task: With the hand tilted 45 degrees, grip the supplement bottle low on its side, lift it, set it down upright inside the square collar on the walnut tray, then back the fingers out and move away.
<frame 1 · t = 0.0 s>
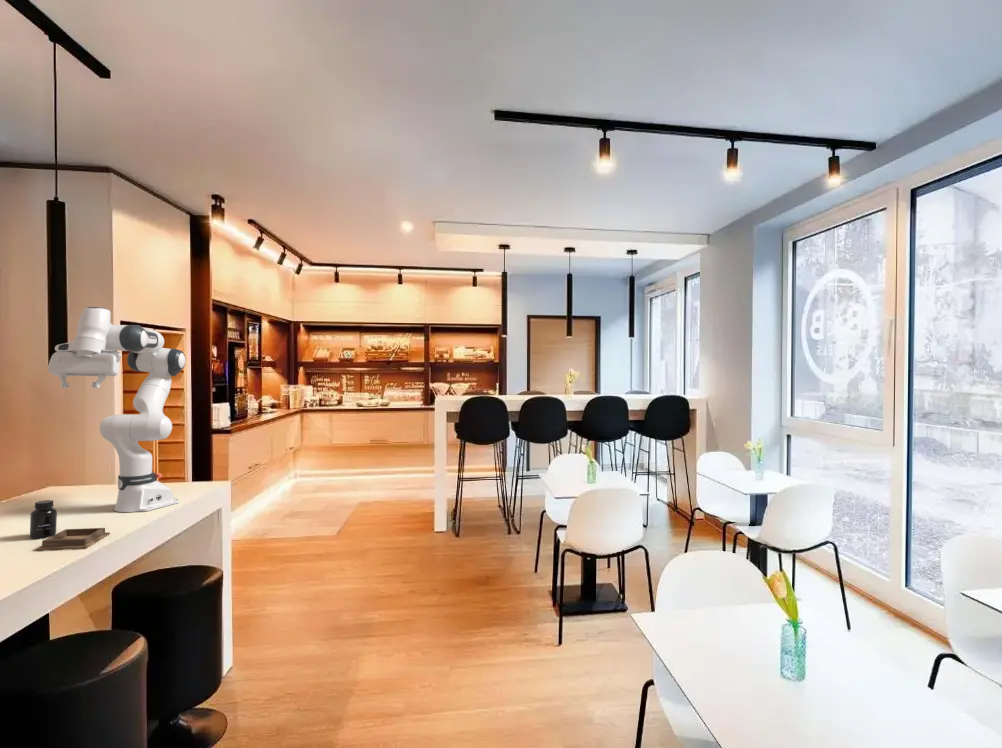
hand: (80, 387, 174), 52 cm above the counter, tool tilted 20°, fingers open, 8 cm apart
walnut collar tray: (74, 542, 171), on the counter
supplement bottle: (43, 536, 176), on the counter
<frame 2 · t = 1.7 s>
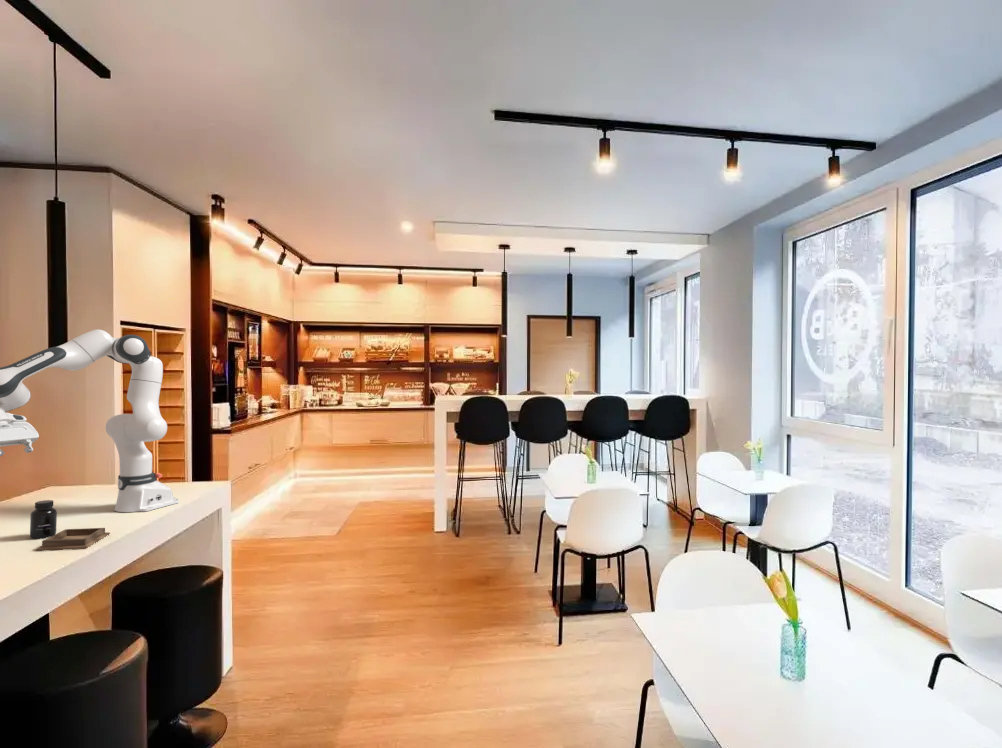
hand: (15, 453, 177), 28 cm above the counter, tool tilted 45°, fingers open, 8 cm apart
nothing on the counter moved.
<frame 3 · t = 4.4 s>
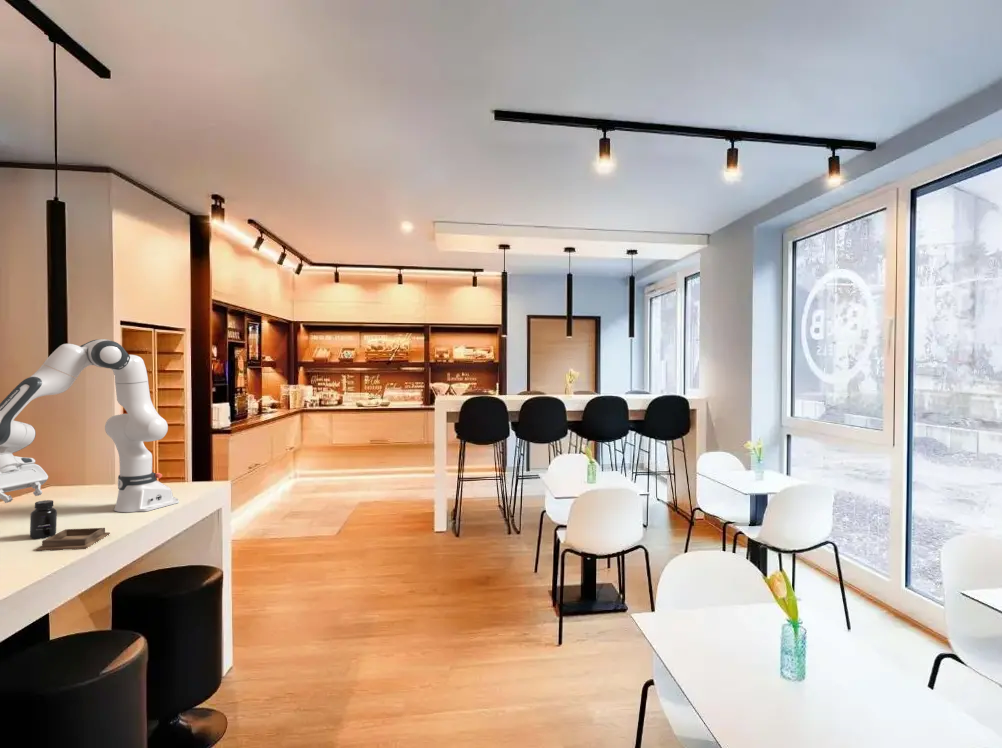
hand: (24, 497, 177), 13 cm above the counter, tool tilted 45°, fingers open, 8 cm apart
nothing on the counter moved.
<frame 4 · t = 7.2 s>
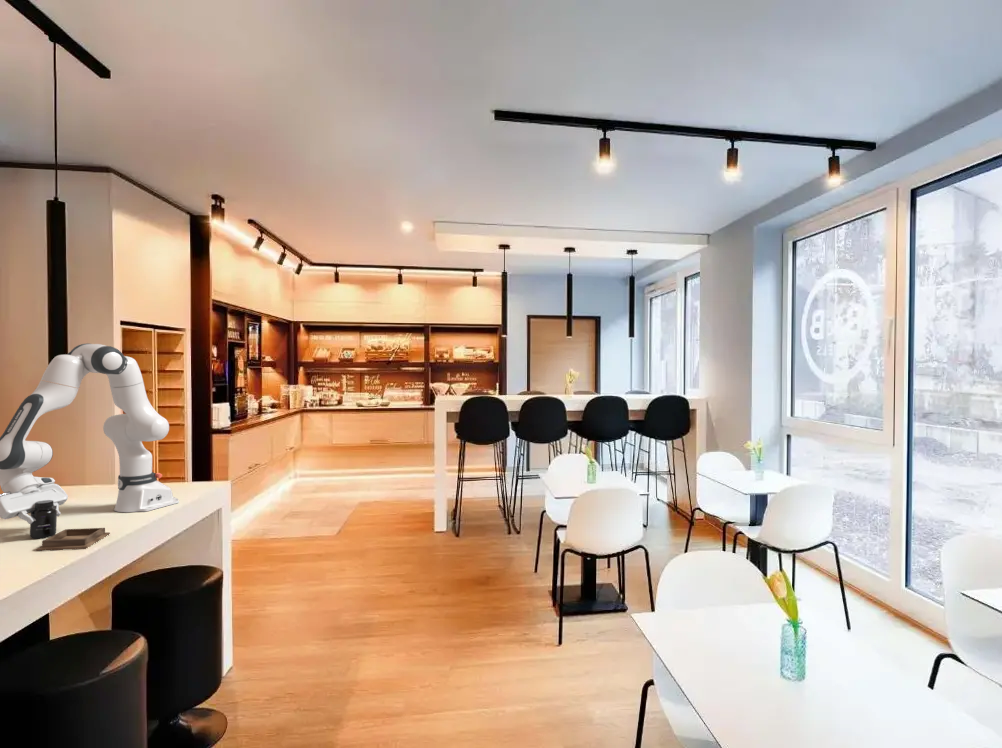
hand: (45, 518, 176), 6 cm above the counter, tool tilted 45°, fingers open, 7 cm apart
supplement bottle: (43, 536, 176), on the counter, touching gripper
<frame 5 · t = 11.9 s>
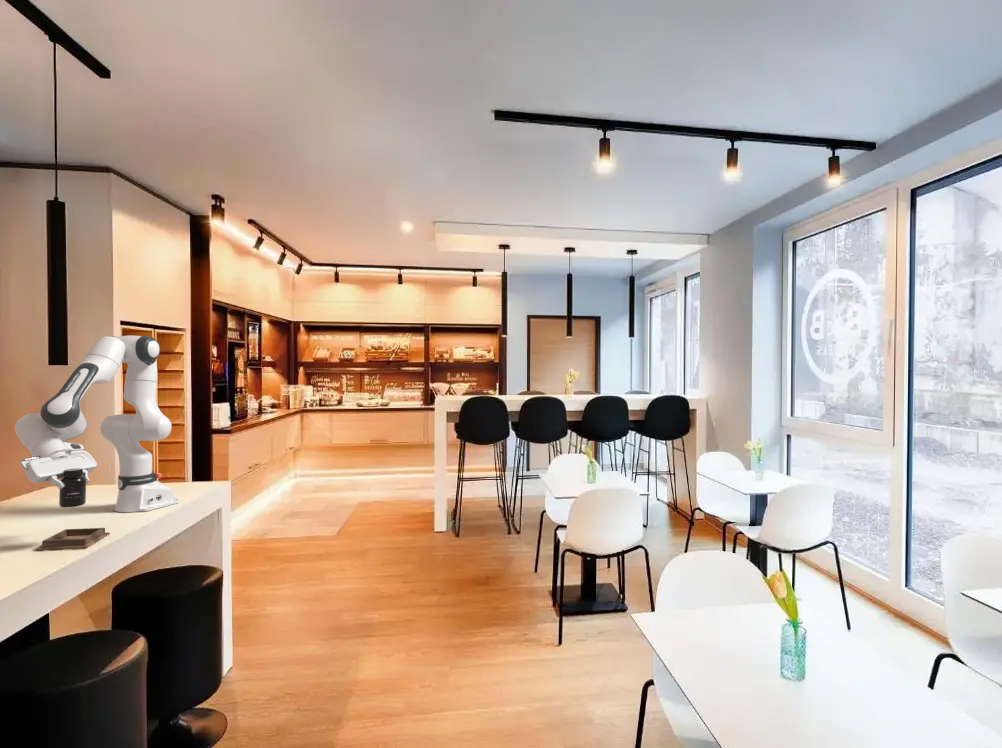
hand: (75, 485, 170), 19 cm above the counter, tool tilted 45°, fingers closed on supplement bottle, 6 cm apart
supplement bottle: (72, 505, 170), point 12 cm above the counter, touching gripper
when the fingers open (8 cm above the counter, at t = 15.3 s): supplement bottle moves 1 cm, resting on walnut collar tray.
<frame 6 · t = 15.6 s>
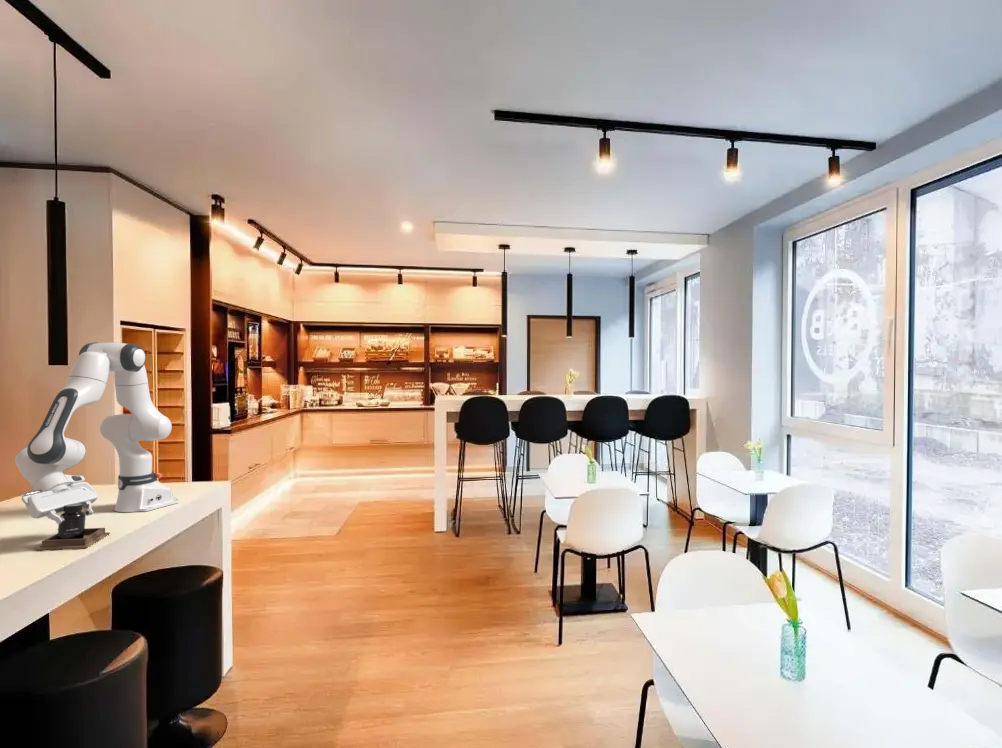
hand: (76, 518, 170), 8 cm above the counter, tool tilted 45°, fingers open, 8 cm apart
supplement bottle: (70, 541, 169), point 1 cm above the counter, touching gripper, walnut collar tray
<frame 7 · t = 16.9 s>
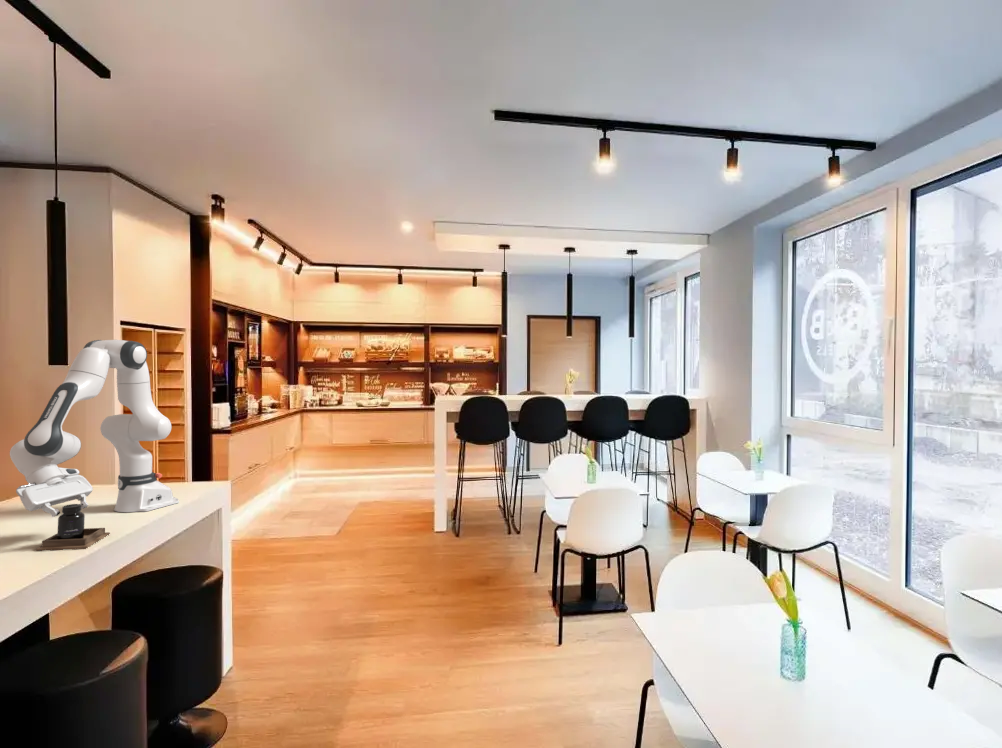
hand: (71, 510, 171), 10 cm above the counter, tool tilted 45°, fingers open, 8 cm apart
supplement bottle: (70, 542, 169), point 1 cm above the counter, touching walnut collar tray
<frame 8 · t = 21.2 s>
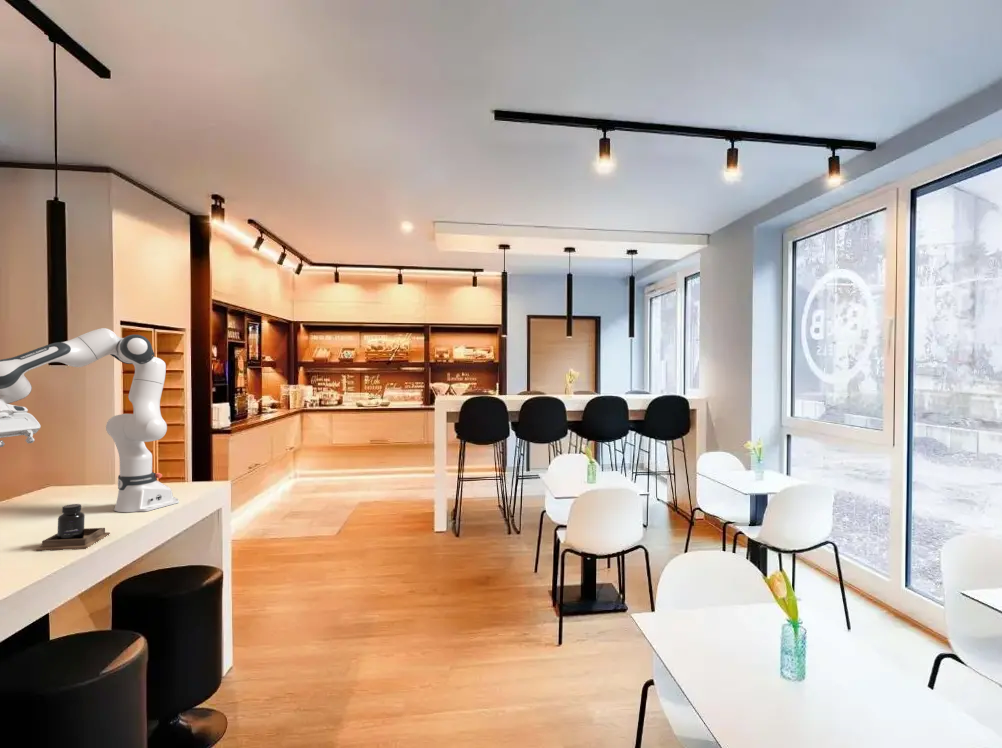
hand: (16, 444, 178), 31 cm above the counter, tool tilted 45°, fingers open, 8 cm apart
nothing on the counter moved.
at the end: supplement bottle 1.4 cm off-centre on the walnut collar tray, point 0.6 cm above the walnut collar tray's base; supplement bottle tilted 0°; the gripper is holding nothing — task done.
